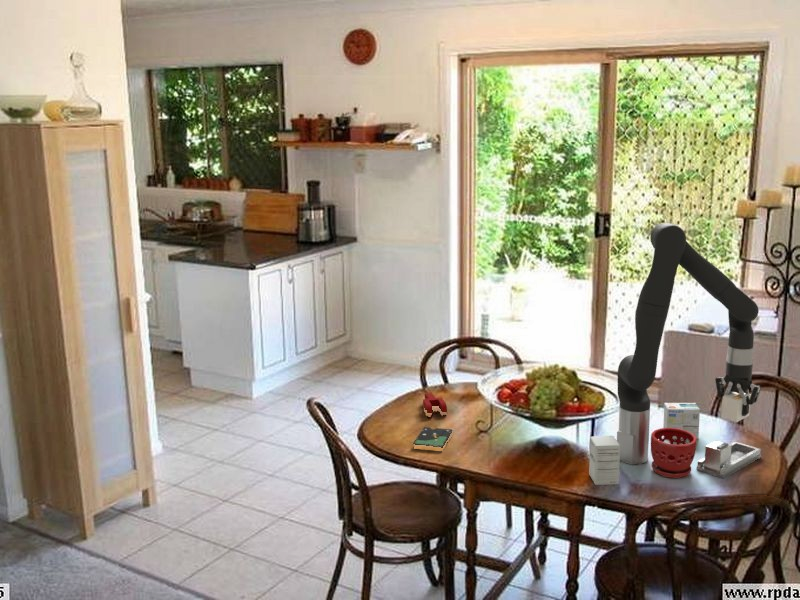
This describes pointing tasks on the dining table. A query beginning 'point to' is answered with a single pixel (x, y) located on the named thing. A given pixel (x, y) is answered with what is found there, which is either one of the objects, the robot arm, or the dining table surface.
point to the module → (733, 407)
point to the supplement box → (604, 460)
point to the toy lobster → (433, 403)
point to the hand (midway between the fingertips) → (735, 412)
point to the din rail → (727, 458)
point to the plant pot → (672, 452)
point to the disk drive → (433, 437)
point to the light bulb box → (682, 417)
